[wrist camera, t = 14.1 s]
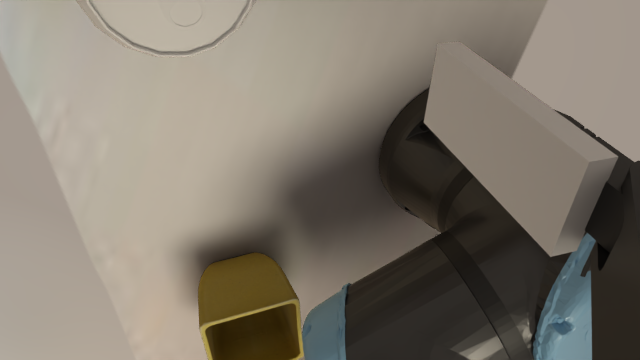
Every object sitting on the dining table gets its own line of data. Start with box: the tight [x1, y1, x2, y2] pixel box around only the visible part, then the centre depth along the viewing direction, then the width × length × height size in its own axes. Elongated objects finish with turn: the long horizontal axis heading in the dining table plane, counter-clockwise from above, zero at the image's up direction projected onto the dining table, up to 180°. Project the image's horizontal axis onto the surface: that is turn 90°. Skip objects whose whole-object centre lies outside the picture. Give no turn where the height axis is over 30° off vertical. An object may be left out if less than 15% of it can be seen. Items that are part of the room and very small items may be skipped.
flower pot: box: [198, 252, 304, 360], centre depth 51 cm, size 9×9×9 cm
